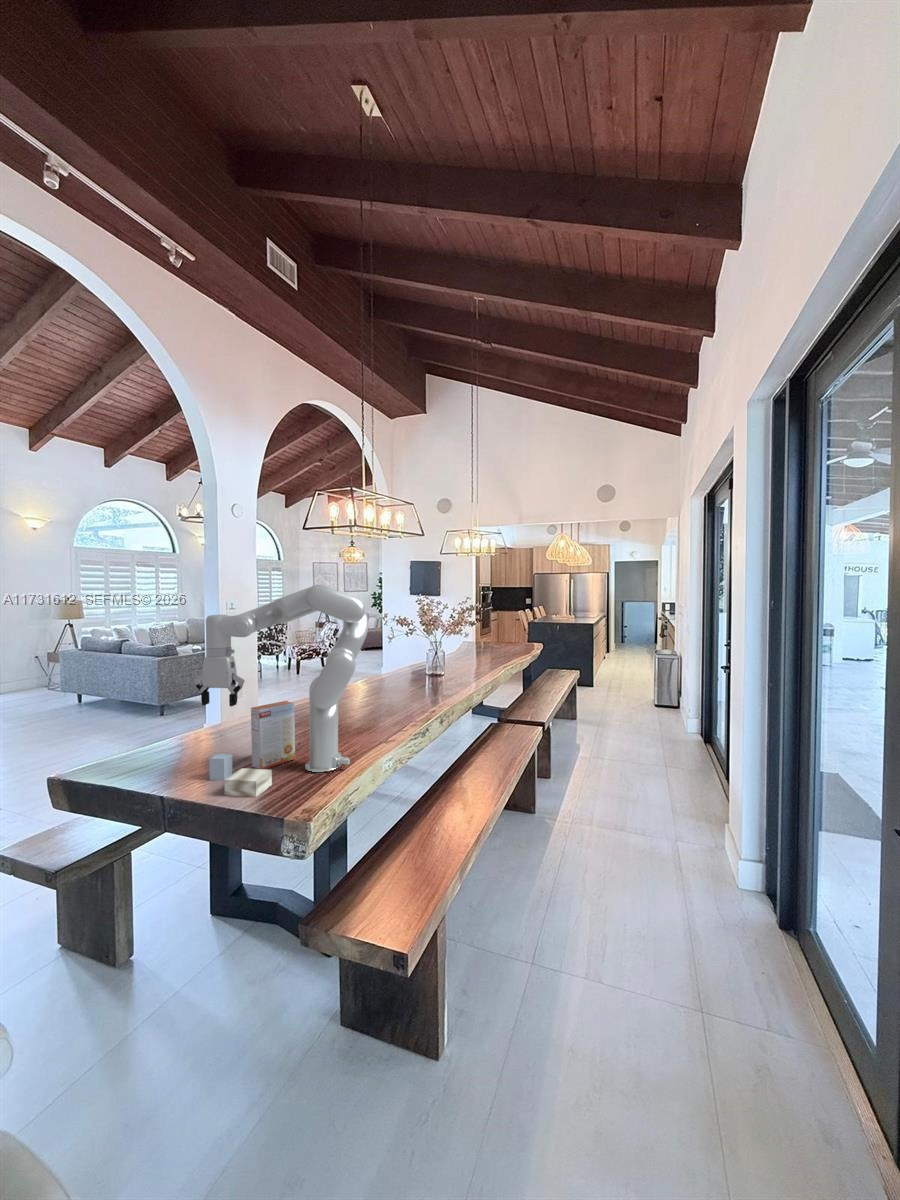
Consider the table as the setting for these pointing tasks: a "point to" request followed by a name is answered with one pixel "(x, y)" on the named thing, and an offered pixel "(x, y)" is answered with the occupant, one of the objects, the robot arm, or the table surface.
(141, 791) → the table surface
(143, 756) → the table surface
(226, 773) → the blue-grey block
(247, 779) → the ash base block
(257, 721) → the cracker box
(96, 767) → the table surface
